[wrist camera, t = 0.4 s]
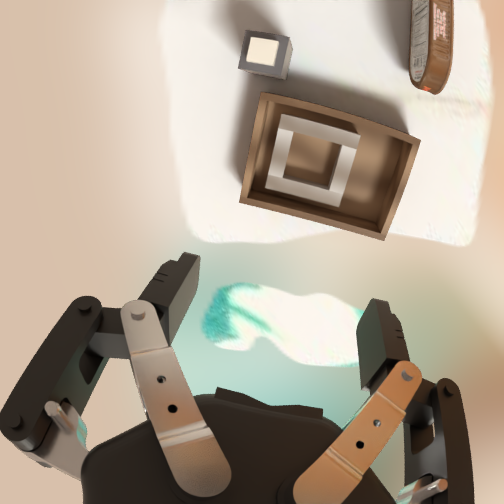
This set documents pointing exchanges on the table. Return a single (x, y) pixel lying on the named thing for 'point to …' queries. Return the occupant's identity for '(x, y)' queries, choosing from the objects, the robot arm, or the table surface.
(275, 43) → the connector
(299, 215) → the box
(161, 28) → the table surface
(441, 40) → the tin
